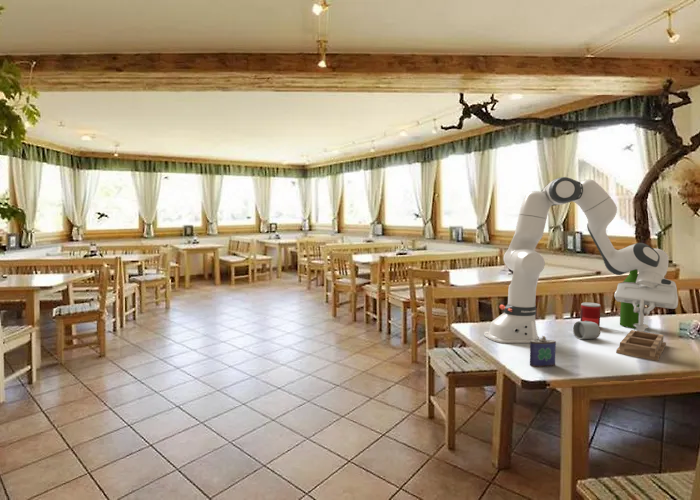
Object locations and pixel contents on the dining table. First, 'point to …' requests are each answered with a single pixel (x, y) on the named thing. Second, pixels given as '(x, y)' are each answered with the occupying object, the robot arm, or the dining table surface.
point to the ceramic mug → (586, 330)
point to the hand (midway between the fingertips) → (641, 312)
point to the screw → (641, 318)
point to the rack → (642, 345)
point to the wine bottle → (629, 306)
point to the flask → (542, 352)
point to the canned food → (590, 312)
